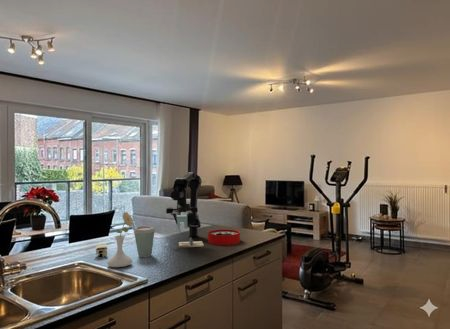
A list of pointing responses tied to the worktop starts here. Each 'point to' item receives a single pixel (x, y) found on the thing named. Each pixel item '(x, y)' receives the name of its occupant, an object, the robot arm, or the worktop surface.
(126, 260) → the flower in vase
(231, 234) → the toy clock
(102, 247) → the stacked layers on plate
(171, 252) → the worktop surface
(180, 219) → the block
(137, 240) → the disposable coffee cup
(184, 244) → the cleat board
